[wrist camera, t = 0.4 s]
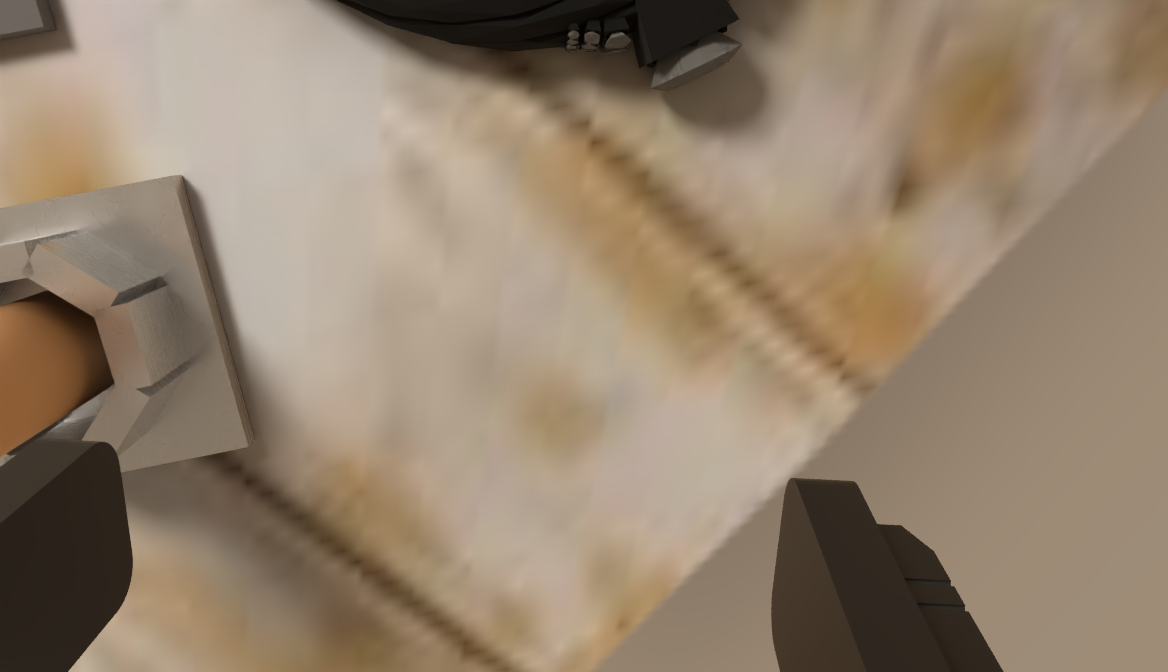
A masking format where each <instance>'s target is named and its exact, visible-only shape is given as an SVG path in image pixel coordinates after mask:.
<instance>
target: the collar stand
mask: <svg viewBox="0 0 1168 672" xmlns="http://www.w3.org/2000/svg"><path fill="white" fill-rule="evenodd" d="M46 290H49V291H51V292H52V293H54V294H56V295H57V296H59V297H61V298H63V299H64V300H66V301H68V302H69V303H71V304H73V305H74V306H76V307H78V308H79V309H81V310H83V311H85V312H86V313H88V314H90V315H91V316H93V317H94V318H95V321H96V324H97V328H98V331H99V334H100V337H101V341H102V344H103V347H104V350H105V353H106V357H107V360H108V363H109V366H110V370H111V373H112V376H113V379H114V384H113V385H112V386H111V387H109V388H108V389H107V390H105V391H103V392H102V393H100V394H99V395H97V396H96V397H94V398H92V399H91V400H89V401H88V402H86V403H85V404H83V405H81V406H80V407H78V408H77V409H75V410H74V411H72V412H70V413H69V414H67V415H66V416H64V417H63V418H61V419H60V420H58V421H56V422H55V423H53V424H52V425H50V426H49V427H47V428H45V429H44V430H42V431H41V432H39V433H38V434H36V435H34V436H33V437H31V438H30V439H28V440H27V441H25V442H23V443H22V444H20V445H19V446H17V447H16V448H14V449H13V450H11V451H9V452H8V453H6V454H5V455H3V456H2V457H0V467H1V466H2V465H3V464H5V463H6V462H7V461H9V460H10V459H11V458H13V457H14V456H15V455H17V454H18V453H19V452H21V451H22V450H23V449H25V448H26V447H27V446H29V445H30V444H31V443H33V442H35V441H36V440H39V439H60V440H80V441H100V442H107V443H109V444H110V445H112V447H113V448H114V449H115V451H116V453H117V456H118V459H119V463H120V470H121V473H122V472H127V471H132V470H137V469H142V468H147V467H152V466H157V465H162V464H167V463H172V462H177V461H182V460H187V459H192V458H197V457H202V456H207V455H212V454H217V453H221V452H226V451H231V450H236V449H241V448H246V447H249V446H250V445H251V443H252V442H253V441H254V440H255V438H254V434H253V431H252V427H251V424H250V420H249V416H248V413H247V409H246V406H245V402H244V398H243V395H242V391H241V388H240V384H239V381H238V377H237V373H236V370H235V366H234V363H233V359H232V355H231V352H230V348H229V345H228V341H227V337H226V334H225V330H224V327H223V323H222V319H221V316H220V312H219V309H218V305H217V301H216V298H215V294H214V291H213V287H212V284H211V280H210V276H209V273H208V269H207V266H206V262H205V258H204V255H203V251H202V248H201V244H200V240H199V237H198V233H197V230H196V226H195V222H194V219H193V215H192V212H191V208H190V204H189V201H188V197H187V194H186V190H185V187H184V183H183V179H182V176H181V175H175V176H169V177H164V178H158V179H153V180H148V181H142V182H137V183H132V184H127V185H121V186H116V187H111V188H106V189H100V190H95V191H90V192H84V193H79V194H74V195H69V196H63V197H58V198H53V199H48V200H42V201H37V202H32V203H26V204H21V205H16V206H11V207H5V208H0V306H2V305H5V304H8V303H11V302H14V301H17V300H20V299H23V298H26V297H29V296H32V295H34V294H37V293H40V292H43V291H46Z"/></svg>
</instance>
